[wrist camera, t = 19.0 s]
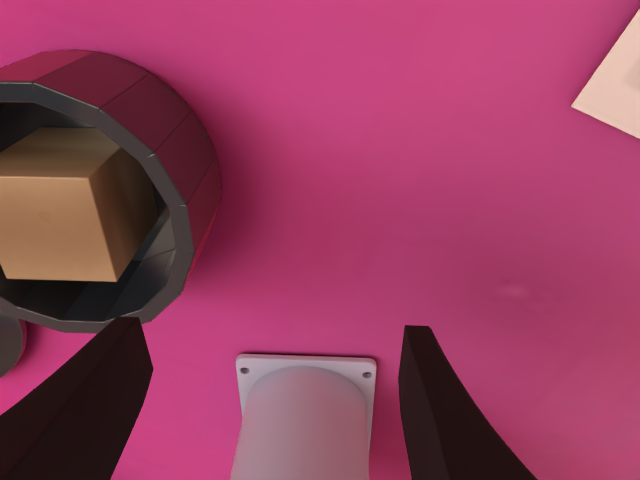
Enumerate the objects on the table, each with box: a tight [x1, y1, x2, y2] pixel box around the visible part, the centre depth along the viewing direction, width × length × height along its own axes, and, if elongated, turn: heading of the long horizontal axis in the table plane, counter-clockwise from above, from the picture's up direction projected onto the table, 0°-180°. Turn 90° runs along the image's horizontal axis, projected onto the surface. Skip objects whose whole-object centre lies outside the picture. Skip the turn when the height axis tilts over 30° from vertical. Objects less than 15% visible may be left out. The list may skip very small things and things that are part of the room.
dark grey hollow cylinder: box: [0, 50, 221, 334], centre depth 20 cm, size 11×11×5 cm
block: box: [0, 127, 159, 282], centre depth 20 cm, size 4×4×5 cm
